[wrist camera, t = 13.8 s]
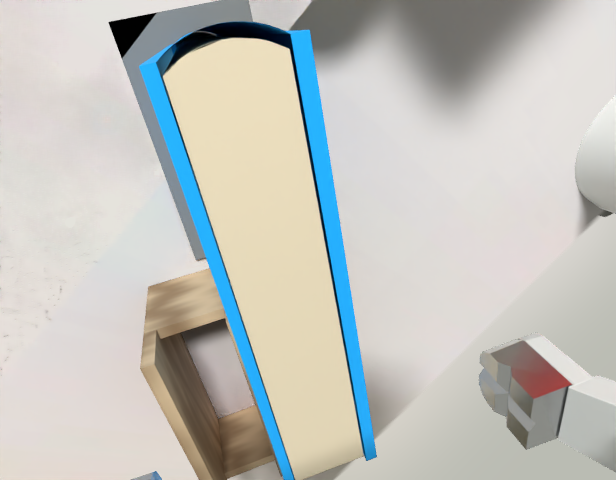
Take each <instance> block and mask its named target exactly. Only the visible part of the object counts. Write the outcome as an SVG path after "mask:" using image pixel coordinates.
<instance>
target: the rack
mask: <svg viewBox="0 0 616 480" xmlns="http://www.w3.org/2000/svg"><path fill="white" fill-rule="evenodd" d="M223 318H225V319H226V324H227V327H228V329H229V332H230V335H231V338H232V341H233V343H234V346H235V349H236V352H237V355H238V357H239V360H240V363H241V366H242V369H243V371H244V374H245V377H246V380H247V383H248V385H249V388H250V391H251V394H252V397H253V399H254V402H255V406H252V407H250V408H247V409H244V410H241V411H239V412H236V413H233V414H230V415H228V416H225V417H222V418H219V419H218V418H217V415H216V413H215V411H214V408H213V406H212V404H211V402H210V399H209V397H208V395H207V392H206V390H205V388H204V386H203V383H202V381H201V379H200V376H199V374H198V372H197V370H196V367H195V365H194V363H193V360H192V358H191V356H190V353H189V351H188V349H187V347H186V344H185V342H184V340H183V337H182V335H181V333H180V332H183V331H186V330H189V329H192V328H196V327H199V326H202V325H205V324H208V323H211V322H214V321H217V320H220V319H223ZM140 369H141V371H142V373H143V375H144V377H145V379H146V381H147V383H148V384H149V386H150V388H151V390H152V392H153V394H154V396H155V398H156V399H157V401H158V403H159V405H160V407H161V409H162V411H163V413H164V415H165V416H166V418H167V420H168V422H169V424H170V426H171V428H172V430H173V431H174V433H175V435H176V437H177V439H178V441H179V443H180V445H181V446H182V448H183V450H184V452H185V454H186V456H187V458H188V460H189V462H190V463H191V465H192V467H193V469H194V471H195V473H196V475H197V477H198V478H199V480H227V479H228V478H230V477H233V476H236V475H238V474H241V473H243V472H246V471H248V470H251V469H254V468H256V467H259V466H261V465H264V464H266V463H269V462H272V461H274V460H275V461H276V464H277V466H278V469H279V472H280V475H281V477H282V476H283V475H282V472H281V469H280V466H279V464H278V461H277V458H276V455H275V452H274V449H273V447H272V444H271V441H270V438H269V435H268V432H267V429H266V427H265V424H264V421H263V418H262V415H261V412H260V410H259V407H258V404H257V401H256V398H255V395H254V392H253V390H252V387H251V384H250V381H249V378H248V375H247V373H246V370H245V367H244V364H243V361H242V358H241V355H240V353H239V350H238V347H237V344H236V341H235V338H234V336H233V333H232V330H231V327H230V324H229V321H228V319H227V316H226V313H225V310H224V307H223V304H222V301H221V299H220V296H219V293H218V290H217V287H216V284H215V282H214V279H213V276H212V273H211V270H210V268H209V269H206V270H203V271H199V272H196V273H193V274H189V275H186V276H183V277H179V278H176V279H173V280H169V281H166V282H163V283H159V284H156V285H153V286H149V287H148V295H147V305H146V316H145V326H144V336H143V346H142V356H141V366H140Z"/></svg>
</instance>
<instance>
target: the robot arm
mask: <svg viewBox="0 0 616 480" xmlns="http://www.w3.org/2000/svg"><path fill="white" fill-rule="evenodd" d="M575 179H576V183H577V186H578V189H579V190H580V192H581V193H582V195H583V196H584V197H585V198H586V199H588V200H589V201H591V202H592V203H594V204H595V205H596V206H598V207H599V208H600V209H603V210H605V211H604V212H603V213H601V214H600V215H599V216H602V217H607V216H609V215H611V214H613V213H615V214H616V95H615V96H614V97H613V98H612V99H611V100H610V101H609V102H608V103H607V104H606V106H605V107H604V108H603V109H602V110H601V111H600V113H599V114H598V115H597V116H596V118H595V119H594V121H593V122H592V123H591V125H590V127H589V128H588V130H587V132H586V133H585V135H584V137H583V139H582V142H581V144H580V147H579V150H578V153H577V157H576V163H575ZM480 364H481V365H482V366H483V367H484V369H483V370H482V372H481V373H480V375H479V385H480V388H481V391H482V394H483V396H484V398H485V399H486V401H487V403H488V404H489V406H490V407H491V408H492V409H493V410H494V412H496V413H499V414H501V415H503V416H505V417H506V423H507V428H508V429H509V430H510V431H511V432H512V434H513V435H514V436H515V437H516V438H517V440H518V441H519V442H520V443H521V444H522V445H523V447H524V448H525V449H526V450H527V449H530V448H532V447H535V446H538V445H540V444H543V443H546V442H548V441H551V440H554V439H556V438H558V441H560V442H562V443H564V444H566V445H567V446H569V447H571V448H573V449H575V450H577V451H578V452H580V453H582V454H584V455H586V456H588V457H589V458H591V459H593V460H595V461H596V462H598V463H600V464H602V465H604V466H605V467H607V468H609V469H611V470H613V471H614V472H616V381H613V380H610V379H607V378H604V377H602V376H595V377H592V376H591V375H590V374H588V373H587V372H586V371H585V370H584V369H582V368H581V367H580V366H579V365H578V364H576V363H575V362H574V361H573V360H572V359H570V358H569V357H568V356H567V355H566V354H564V353H563V352H562V351H561V350H560V349H558V348H557V347H556V346H555V345H554V344H552V343H551V342H550V341H549V340H547V339H546V338H545V337H544V336H543V335H541V334H539V333H533V334H530V335H527V336H524V337H522V338H519V339H515V340H512V341H510V342H507V343H504V344H502V345H499V346H496V347H494V348H491V349H488V350H486V351H483V352H482V354H481V355H480ZM132 480H162V479H161V477H160V476H159V474H158V473H157V471H155V472H152V473H149V474H146V475H143V476H140V477H137V478H135V479H132Z"/></svg>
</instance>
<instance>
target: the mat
mask: <svg viewBox="0 0 616 480" xmlns="http://www.w3.org/2000/svg"><path fill="white" fill-rule="evenodd" d="M232 21H247V22H253V20H252V15H251V10H250V5H249V1H248V0H220V1H215V2H210V3H204V4H199V5H194V6H189V7H184V8H179V9H173V10H168V11H163V12H158V13H153V14H148V15H142V16H137V17H132V18H127V19H122V20H117V21H111V22H109V25H110V28H111V30H112V33H113V36H114V39H115V41H116V44H117V47H118V49H119V52H120V55H121V58H122V60H123V63H124V66H125V68H126V71H127V74H128V77H129V79H130V82H131V85H132V87H133V90H134V93H135V96H136V98H137V101H138V104H139V106H140V109H141V112H142V115H143V117H144V120H145V123H146V125H147V128H148V131H149V134H150V136H151V139H152V142H153V144H154V147H155V150H156V153H157V155H158V158H159V161H160V163H161V166H162V169H163V172H164V174H165V177H166V180H167V182H168V185H169V188H170V191H171V193H172V196H173V199H174V201H175V204H176V207H177V210H178V212H179V215H180V218H181V220H182V223H183V226H184V228H185V231H186V234H187V237H188V239H189V242H190V245H191V247H192V250H193V253H194V256H195V258H196V260H198V259H202V258H205V257H206V256H205V253H204V250H203V247H202V245H201V242H200V239H199V236H198V233H197V230H196V227H195V225H194V222H193V219H192V216H191V213H190V210H189V208H188V205H187V202H186V199H185V196H184V193H183V190H182V188H181V185H180V182H179V179H178V176H177V173H176V171H175V168H174V165H173V162H172V159H171V156H170V153H169V151H168V148H167V145H166V142H165V139H164V136H163V134H162V131H161V128H160V125H159V122H158V119H157V116H156V114H155V111H154V108H153V105H152V102H151V99H150V97H149V94H148V91H147V88H146V85H145V82H144V80H143V77H142V74H141V71H140V68H139V66H140V65H141V64H142V63H144V62H145V61H147V60H148V59H150V58H151V57H153V56H154V55H156V54H157V53H159V52H160V51H162V50H163V49H164V48H166V47H167V46H169V45H171V44H176V48H177V47H178V46H179V45H180V44H181V43H182V42H184V41H185V40H187V39H189V38H192V37H197V36H213V37H217V36H216V35H215V34H213V33H209V32H203V31H197V32H194V31H196V30H199V29H202V28H204V27H207V26H210V25H214V24H218V23H224V22H232ZM191 32H192V33H191ZM189 33H191V34H189ZM186 34H189V35H187V36H185V35H186ZM183 36H185V37H183ZM182 37H183V38H182ZM180 38H182V39H180ZM179 39H180V40H179ZM178 40H179V41H178ZM177 41H178V42H177ZM171 49H172V47H171Z"/></svg>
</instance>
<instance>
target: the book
mask: <svg viewBox="0 0 616 480" xmlns="http://www.w3.org/2000/svg"><path fill="white" fill-rule="evenodd" d="M197 31H203V32H209V33H213V34H215V35H216V36H217V37H213V36H197V37H192V38H189V39H187V40H185V41H184V42H182V43H181V44H180V45H179V46H178V47H177V48H176V44H171V45H169V46H167V47H166V48H164V49H163V50H162V51H160V52H159V53H157V54H156V55H154V56H153V57H151V58H150V59H148V60H147V61H145V62H144V63H142V64H141V65H140V66H139V68H140V71H141V74H142V77H143V80H144V82H145V85H146V88H147V91H148V94H149V97H150V99H151V102H152V105H153V108H154V111H155V114H156V116H157V119H158V122H159V125H160V128H161V131H162V134H163V136H164V139H165V142H166V145H167V148H168V151H169V153H170V156H171V159H172V162H173V165H174V168H175V171H176V173H177V176H178V179H179V182H180V185H181V188H182V190H183V193H184V196H185V199H186V202H187V205H188V208H189V210H190V213H191V216H192V219H193V222H194V225H195V227H196V230H197V233H198V236H199V239H200V242H201V245H202V247H203V250H204V253H205V256H206V259H207V262H208V264H209V267H210V270H211V273H212V276H213V279H214V282H215V284H216V287H217V290H218V293H219V296H220V299H221V301H222V304H223V307H224V310H225V313H226V316H227V319H228V321H229V324H230V327H231V330H232V333H233V336H234V338H235V341H236V344H237V347H238V350H239V353H240V355H241V358H242V361H243V364H244V367H245V370H246V373H247V375H248V378H249V381H250V384H251V387H252V390H253V392H254V395H255V398H256V401H257V404H258V407H259V410H260V412H261V415H262V418H263V421H264V424H265V427H266V429H267V432H268V435H269V438H270V441H271V444H272V447H273V449H274V452H275V455H276V458H277V461H278V464H279V466H280V469H281V472H282V475H283V478H284V480H303V479H306V478H308V477H311V476H314V475H316V474H319V473H321V472H324V471H327V470H329V469H332V468H334V467H337V466H340V465H342V464H345V463H347V462H350V461H353V460H355V459H358V458H360V457H363V456H365V458H366V461H368V460H371V459H373V458H376V457H377V455H376V449H375V443H374V436H373V430H372V424H371V417H370V411H369V404H368V398H367V392H366V385H365V379H364V373H363V366H362V360H361V354H360V347H359V341H358V334H357V328H356V322H355V315H354V309H353V303H352V296H351V290H350V284H349V277H348V271H347V264H346V258H345V252H344V245H343V239H342V233H341V226H340V220H339V214H338V207H337V201H336V194H335V188H334V182H333V175H332V169H331V163H330V156H329V150H328V144H327V137H326V131H325V125H324V118H323V112H322V105H321V99H320V93H319V86H318V80H317V74H316V67H315V61H314V55H313V48H312V42H311V35H310V30H294V31H283V30H281V29H279V28H276V27H273V26H270V25H266V24H261V23H257V22H247V21H232V22H224V23H218V24H214V25H210V26H207V27H204V28H202V29H199V30H196V31H194V32H197ZM191 33H192V32H191ZM191 33H189V34H191ZM189 34H186V35H185V36H187V35H189ZM185 36H183V37H185ZM183 37H182V38H183ZM182 38H180V39H182ZM180 39H179V40H180ZM179 40H178V41H179ZM178 41H177V42H178ZM171 47H172V49H171ZM363 454H364V455H363ZM293 474H294V475H293ZM294 477H295V479H294Z"/></svg>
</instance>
